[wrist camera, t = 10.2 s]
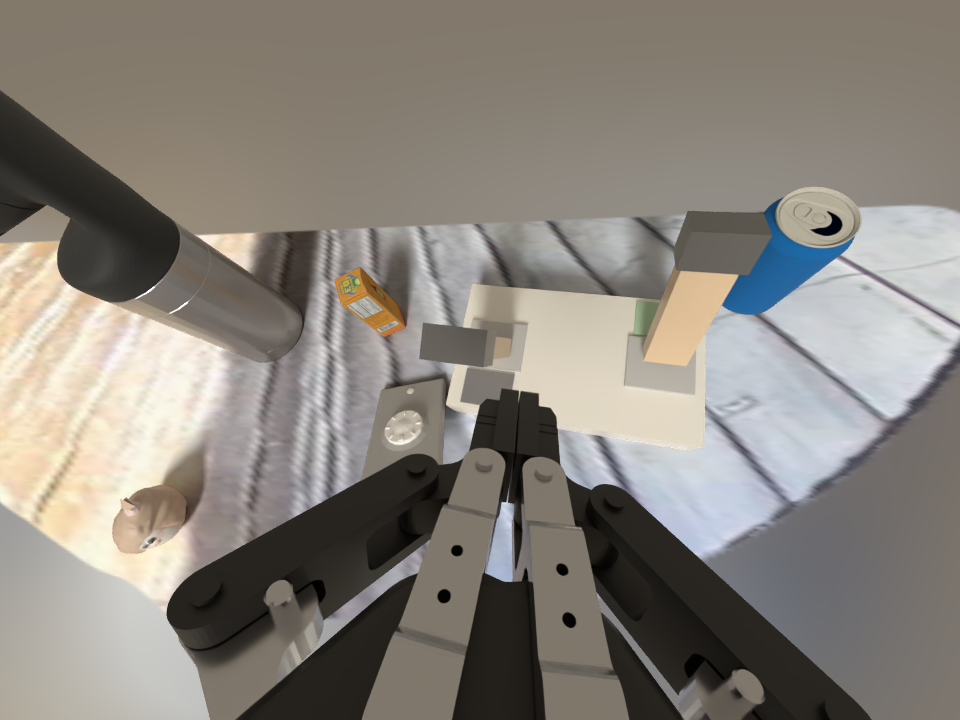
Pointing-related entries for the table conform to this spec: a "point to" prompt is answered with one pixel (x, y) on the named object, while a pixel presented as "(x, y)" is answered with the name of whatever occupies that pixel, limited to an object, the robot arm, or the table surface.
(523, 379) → the switch unit
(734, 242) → the tan lever
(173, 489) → the brown hamster figurine
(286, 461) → the table surface
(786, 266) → the beverage can
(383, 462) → the light switch
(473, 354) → the lever charcoal
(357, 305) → the supplement box
